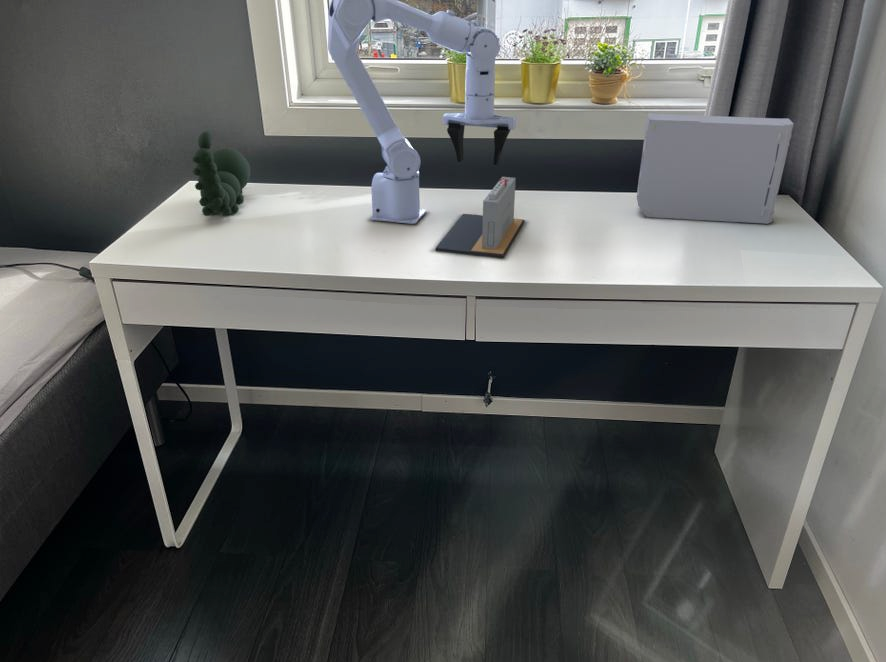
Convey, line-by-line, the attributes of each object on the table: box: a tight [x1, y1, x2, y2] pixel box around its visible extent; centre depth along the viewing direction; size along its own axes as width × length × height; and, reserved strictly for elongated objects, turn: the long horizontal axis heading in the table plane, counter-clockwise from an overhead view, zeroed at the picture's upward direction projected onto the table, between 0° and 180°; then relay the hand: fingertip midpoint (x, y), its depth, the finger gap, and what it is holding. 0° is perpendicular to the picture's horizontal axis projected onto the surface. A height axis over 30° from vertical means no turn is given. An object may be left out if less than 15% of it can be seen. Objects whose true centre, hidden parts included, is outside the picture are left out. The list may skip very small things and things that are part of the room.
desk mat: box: [435, 213, 526, 259], centre depth 148 cm, size 13×20×1 cm, turn 164°
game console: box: [636, 112, 794, 225], centre depth 153 cm, size 6×27×20 cm, turn 81°
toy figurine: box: [192, 130, 251, 217], centre depth 158 cm, size 9×19×25 cm
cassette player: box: [482, 176, 517, 250], centre depth 145 cm, size 16×3×10 cm, turn 164°
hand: (478, 162), depth 156 cm, fingers open, 7 cm apart
